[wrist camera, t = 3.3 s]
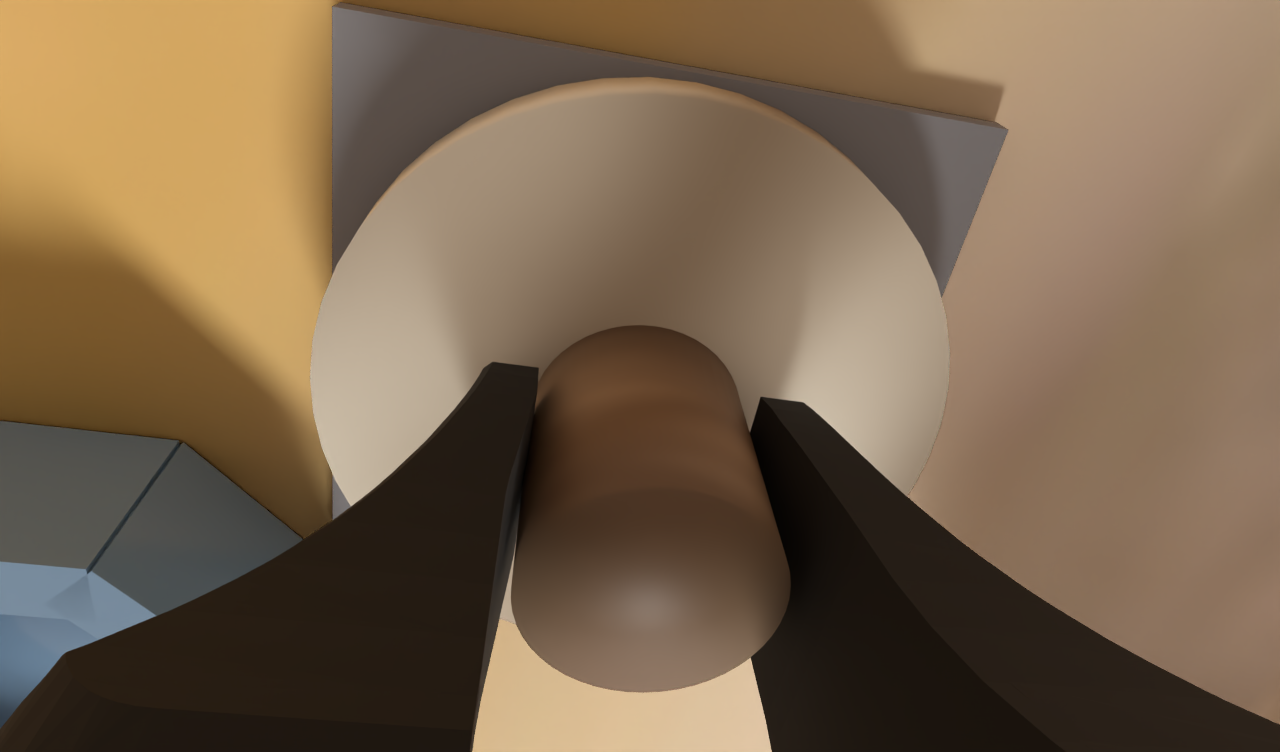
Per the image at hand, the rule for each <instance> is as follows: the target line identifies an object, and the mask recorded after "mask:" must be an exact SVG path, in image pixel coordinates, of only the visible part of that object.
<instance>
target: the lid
mask: <svg viewBox="0 0 1280 752" xmlns="http://www.w3.org/2000/svg"><path fill="white" fill-rule="evenodd" d="M491 362H499V363H507V364H515V365H522V366H530V367H538V368H539V374H538V388H537V396H536V403H535V410H534V417H533V424H532V432H531V439H530V446H529V453H528V460H527V465H526V470H525V475H524V480H523V486H522V493H521V502H520V511H519V520H518V529H517V537H516V544H515V551H514V557H513V561H512V566H511V570H510V574H509V579H508V583H507V587H506V592H505V596H504V601H503V605H502V609H501V614H500V618H499V619H502V620H505V621H508V622H510V623H513V624H516V625H517V627H518V629H519V631H520V633H521V635H522V637H523V638H524V639H525V641H526V642H527V644H528V645H529V646H530V648H531V649H532V650H533V651H534V652H535V653H536V654H537V655H538V656H539V657H540V658H541V659H543V660H544V661H545V662H546V663H548V664H549V665H550V666H552V667H553V668H555V669H556V670H558V671H560V672H561V673H563V674H565V675H567V676H569V677H571V678H574V679H576V680H578V681H581V682H584V683H587V684H590V685H593V686H596V687H601V688H605V689H610V690H617V691H625V692H661V691H668V690H675V689H681V688H685V687H689V686H693V685H697V684H700V683H703V682H706V681H709V680H711V679H714V678H716V677H718V676H720V675H723V674H725V673H727V672H728V671H730V670H732V669H734V668H736V667H737V666H739V665H740V664H742V663H743V662H745V661H746V660H747V659H749V658H750V657H752V656H753V655H754V654H755V653H756V652H757V651H758V650H759V649H761V648H762V647H763V646H764V644H765V643H766V642H767V641H768V640H769V639H770V638H771V636H772V635H773V634H774V632H775V631H776V629H777V628H778V626H779V625H780V623H781V621H782V618H783V616H784V614H785V612H786V609H787V605H788V602H789V598H790V589H791V580H790V570H789V566H788V562H787V558H786V555H785V552H784V548H783V545H782V541H781V538H780V534H779V531H778V528H777V524H776V521H775V517H774V514H773V511H772V507H771V504H770V500H769V497H768V493H767V490H766V487H765V483H764V480H763V476H762V473H761V470H760V466H759V463H758V459H757V456H756V452H755V449H754V446H753V442H752V439H751V435H750V431H751V427H752V424H753V421H754V417H755V414H756V411H757V407H758V404H759V400H760V397H767V398H775V399H783V400H790V401H798V402H804V403H805V404H806V405H808V406H809V407H810V408H811V409H813V410H814V411H815V412H816V413H817V414H818V415H820V416H821V417H822V418H823V419H824V420H825V421H826V422H827V423H828V424H829V425H831V426H832V427H833V428H834V429H835V430H836V431H837V432H838V433H839V434H840V435H841V436H842V437H843V438H844V439H845V440H846V441H848V442H849V443H850V444H851V445H852V446H853V447H854V448H855V449H856V450H857V451H858V452H859V453H860V454H861V455H862V456H863V457H864V458H865V459H866V460H868V461H869V462H870V463H871V464H872V465H873V466H874V467H875V468H876V469H877V470H878V471H879V472H880V473H881V474H883V475H884V476H885V477H886V478H887V479H888V480H889V481H890V482H891V483H892V484H893V485H895V486H896V487H897V488H898V489H899V490H900V491H901V492H902V493H903V494H905V495H906V496H908V494H909V493H910V491H911V490H912V488H913V487H914V485H915V483H916V481H917V479H918V477H919V476H920V474H921V472H922V470H923V468H924V466H925V464H926V462H927V460H928V458H929V456H930V454H931V451H932V448H933V445H934V442H935V440H936V437H937V434H938V431H939V429H940V426H941V423H942V418H943V413H944V408H945V403H946V398H947V393H948V386H949V367H950V347H949V337H948V327H947V318H946V314H945V310H944V306H943V303H942V299H941V295H940V291H939V288H938V284H937V281H936V278H935V276H934V274H933V272H932V269H931V267H930V265H929V263H928V260H927V258H926V256H925V254H924V251H923V249H922V247H921V245H920V244H919V242H918V241H917V239H916V238H915V236H914V235H913V233H912V231H911V230H910V228H909V227H908V225H907V224H906V222H905V221H904V219H903V218H902V216H901V215H900V213H899V212H898V211H897V210H896V208H895V207H894V206H893V205H892V204H891V203H890V202H889V201H888V200H887V199H886V197H885V196H884V195H883V194H882V193H881V192H880V191H879V190H878V189H877V188H876V186H875V185H874V184H873V183H872V182H871V181H870V180H869V179H868V178H867V177H866V176H865V175H864V173H863V172H862V171H861V170H860V169H859V168H858V167H857V166H856V165H855V164H854V163H853V162H852V161H851V160H850V159H849V158H848V157H847V156H846V155H845V154H843V153H842V152H841V151H840V150H838V149H837V148H836V147H835V146H834V145H832V144H831V143H830V142H829V141H827V140H826V139H825V138H824V137H823V136H821V135H820V134H819V133H818V132H816V131H814V130H813V129H811V128H809V127H808V126H806V125H804V124H803V123H801V122H799V121H798V120H796V119H794V118H792V117H791V116H789V115H787V114H786V113H784V112H782V111H781V110H778V109H776V108H773V107H771V106H769V105H766V104H764V103H761V102H759V101H757V100H754V99H752V98H749V97H747V96H744V95H742V94H740V93H736V92H732V91H728V90H724V89H720V88H716V87H712V86H708V85H705V84H701V83H697V82H689V81H680V80H672V79H663V78H654V77H631V78H601V79H595V80H589V81H583V82H576V83H570V84H564V85H558V86H554V87H551V88H548V89H544V90H541V91H538V92H535V93H531V94H528V95H525V96H522V97H518V98H515V99H512V100H510V101H508V102H506V103H504V104H502V105H499V106H497V107H495V108H493V109H491V110H489V111H486V112H484V113H482V114H480V115H478V116H476V117H474V118H472V119H470V120H469V121H467V122H465V123H464V124H462V125H461V126H459V127H458V128H456V129H455V130H453V131H452V132H450V133H449V134H447V135H446V136H444V137H442V138H441V139H439V140H438V141H436V142H435V143H434V144H433V145H431V146H430V147H429V148H428V149H427V150H426V151H425V152H423V153H422V154H421V155H420V156H419V157H418V158H417V159H416V160H414V161H413V162H412V163H411V164H410V165H409V166H408V167H406V168H405V169H404V170H403V171H402V172H401V173H400V175H399V176H398V177H397V178H396V179H395V181H394V182H393V183H392V184H391V185H390V187H389V188H388V189H387V190H386V191H385V192H384V194H383V195H382V196H381V197H380V198H379V200H378V201H377V202H376V203H375V205H374V206H373V208H372V209H371V211H370V212H369V214H368V215H367V217H366V219H365V220H364V222H363V223H362V225H361V226H360V228H359V229H358V231H357V232H356V234H355V236H354V237H353V239H352V241H351V242H350V244H349V246H348V247H347V249H346V250H345V252H344V254H343V255H342V257H341V259H340V260H339V262H338V264H337V265H336V268H335V270H334V273H333V275H332V278H331V280H330V282H329V285H328V287H327V290H326V292H325V295H324V297H323V300H322V302H321V306H320V310H319V315H318V319H317V323H316V327H315V332H314V336H313V341H312V355H311V370H310V383H311V394H312V405H313V415H314V419H315V423H316V427H317V431H318V435H319V439H320V443H321V447H322V450H323V452H324V454H325V457H326V459H327V462H328V464H329V466H330V469H331V471H332V474H333V476H334V478H335V481H336V482H337V484H338V486H339V488H340V489H341V491H342V493H343V494H344V496H345V498H346V499H347V501H348V503H349V504H350V506H352V505H354V504H355V503H356V502H358V501H359V500H360V499H361V498H363V497H364V496H365V495H366V494H368V493H369V492H370V491H371V490H373V489H374V488H375V487H376V486H377V485H379V484H380V483H381V482H382V481H383V480H384V479H386V478H387V477H388V476H389V475H390V474H391V473H392V472H393V471H395V470H396V469H397V468H398V467H399V466H400V465H401V464H402V463H403V462H404V461H405V460H406V459H407V458H408V457H409V456H410V455H411V454H412V453H413V452H415V451H416V450H417V449H418V448H419V447H420V446H421V445H422V444H423V443H424V442H425V441H426V440H427V439H428V438H429V437H430V436H431V435H432V433H433V432H434V431H435V430H436V429H437V428H438V427H439V426H440V424H441V423H442V422H443V421H444V420H445V419H446V418H447V417H448V416H449V414H450V413H451V412H452V411H453V410H454V409H455V408H456V406H457V405H458V404H459V403H460V401H461V400H462V399H463V398H464V396H465V395H466V394H467V392H468V391H469V390H470V388H471V387H472V386H473V384H474V383H475V381H476V380H477V378H478V377H479V375H480V373H481V371H482V369H483V368H484V367H485V366H487V365H488V364H490V363H491Z"/></svg>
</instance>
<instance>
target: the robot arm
mask: <svg viewBox="0 0 1280 752" xmlns="http://www.w3.org/2000/svg"><path fill="white" fill-rule="evenodd" d="M538 374H539V368H538V367H530V366H522V365H515V364H507V363H499V362H491V363H490V364H488V365H487V366H485V367H484V368H483V369H482V371H481V373H480V375H479V377H478V378H477V380H476V381H475V383H474V384H473V386H472V387H471V388H470V390H469V391H468V392H467V394H466V395H465V396H464V398H463V399H462V400H461V401H460V403H459V404H458V405H457V406H456V408H455V409H454V410H453V411H452V412H451V413H450V414H449V416H448V417H447V418H446V419H445V420H444V421H443V422H442V423H441V424H440V426H439V427H438V428H437V429H436V430H435V431H434V432H433V433H432V435H431V436H430V437H429V438H428V439H427V440H426V441H425V442H424V443H423V444H422V445H421V446H420V447H419V448H418V449H417V450H416V451H415V452H413V453H412V454H411V455H410V456H409V457H408V458H407V459H406V460H405V461H404V462H403V463H402V464H401V465H400V466H399V467H398V468H397V469H396V470H395V471H393V472H392V473H391V474H390V475H389V476H388V477H387V478H386V479H384V480H383V481H382V482H381V483H380V484H379V485H377V486H376V487H375V488H374V489H373V490H371V491H370V492H369V493H368V494H366V495H365V496H364V497H363V498H361V499H360V500H359V501H358V502H356V503H355V504H354V505H352V506H351V507H350V508H348V509H347V510H346V511H344V512H343V513H342V514H340V515H339V516H338V517H336V518H335V519H333V520H332V521H330V522H329V523H327V524H326V525H324V526H323V527H321V528H320V529H319V530H317V531H316V532H314V533H313V534H311V535H310V536H308V537H307V538H305V539H304V540H302V541H301V542H299V543H298V544H296V545H295V546H293V547H291V548H290V549H288V550H286V551H285V552H283V553H282V554H280V555H278V556H277V557H275V558H273V559H272V560H270V561H268V562H266V563H264V564H263V565H261V566H259V567H257V568H255V569H253V570H251V571H250V572H248V573H246V574H244V575H242V576H240V577H238V578H237V579H235V580H233V581H230V582H228V583H226V584H224V585H222V586H220V587H218V588H216V589H214V590H212V591H210V592H208V593H206V594H204V595H202V596H200V597H198V598H196V599H194V600H192V601H189V602H187V603H185V604H183V605H181V606H178V607H176V608H174V609H172V610H170V611H167V612H165V613H162V614H160V615H157V616H155V617H153V618H150V619H148V620H145V621H143V622H140V623H138V624H136V625H133V626H131V627H128V628H126V629H123V630H121V631H119V632H116V633H114V634H111V635H109V636H106V637H104V638H102V639H99V640H97V641H94V642H92V643H89V644H87V645H84V646H81V647H79V648H76V649H73V650H71V651H68V652H66V653H64V654H63V655H62V656H61V657H60V659H59V660H58V661H57V662H56V664H55V665H54V666H53V667H52V668H51V670H50V671H49V672H48V673H47V674H46V676H45V677H44V678H43V679H42V680H41V682H40V683H39V684H38V685H37V686H36V687H35V688H34V689H33V690H32V691H31V692H30V693H29V695H28V696H27V697H26V698H25V699H24V700H23V701H22V702H21V704H20V705H19V706H18V707H17V709H16V710H15V711H14V712H13V714H12V715H11V716H10V717H9V719H8V720H7V721H6V722H5V724H4V725H3V726H2V727H1V728H0V752H472V749H473V742H474V734H475V728H476V723H477V718H478V712H479V707H480V701H481V696H482V692H483V688H484V683H485V679H486V675H487V670H488V666H489V662H490V657H491V653H492V649H493V644H494V640H495V635H496V631H497V627H498V622H499V618H500V614H501V609H502V605H503V601H504V596H505V592H506V587H507V583H508V579H509V574H510V570H511V566H512V561H513V557H514V551H515V544H516V537H517V529H518V520H519V511H520V502H521V493H522V486H523V480H524V475H525V470H526V465H527V460H528V453H529V446H530V439H531V432H532V424H533V417H534V410H535V403H536V396H537V388H538ZM750 435H751V439H752V442H753V446H754V449H755V452H756V456H757V459H758V463H759V466H760V470H761V473H762V476H763V480H764V483H765V487H766V490H767V493H768V497H769V500H770V504H771V507H772V511H773V514H774V517H775V521H776V524H777V528H778V531H779V534H780V538H781V541H782V545H783V548H784V552H785V555H786V558H787V562H788V566H789V570H790V580H791V589H790V598H789V602H788V605H787V609H786V612H785V614H784V616H783V618H782V621H781V623H780V625H779V626H778V628H777V629H776V631H775V632H774V634H773V635H772V636H771V638H770V639H769V640H768V641H767V642H766V643H765V644H764V646H763V647H762V648H761V649H759V650H758V651H757V652H756V653H755V654H754V655H753V656H752V657H751V660H752V665H753V669H754V673H755V677H756V681H757V685H758V690H759V694H760V698H761V702H762V706H763V710H764V714H765V719H766V723H767V729H768V734H769V739H770V744H771V749H772V752H1280V725H1279V724H1276V723H1274V722H1272V721H1270V720H1268V719H1265V718H1263V717H1261V716H1259V715H1256V714H1254V713H1252V712H1250V711H1247V710H1245V709H1243V708H1241V707H1238V706H1236V705H1234V704H1232V703H1229V702H1227V701H1225V700H1223V699H1221V698H1219V697H1217V696H1215V695H1212V694H1210V693H1208V692H1206V691H1204V690H1202V689H1201V688H1199V687H1197V686H1195V685H1193V684H1191V683H1189V682H1187V681H1185V680H1183V679H1181V678H1179V677H1177V676H1175V675H1173V674H1171V673H1169V672H1167V671H1165V670H1163V669H1161V668H1159V667H1158V666H1156V665H1154V664H1152V663H1150V662H1148V661H1146V660H1144V659H1142V658H1141V657H1139V656H1137V655H1135V654H1133V653H1132V652H1130V651H1128V650H1126V649H1124V648H1122V647H1121V646H1119V645H1117V644H1115V643H1113V642H1112V641H1110V640H1108V639H1106V638H1105V637H1103V636H1101V635H1100V634H1098V633H1096V632H1095V631H1093V630H1091V629H1090V628H1088V627H1086V626H1085V625H1083V624H1081V623H1080V622H1078V621H1076V620H1075V619H1073V618H1071V617H1070V616H1068V615H1067V614H1065V613H1063V612H1062V611H1060V610H1058V609H1057V608H1055V607H1053V606H1052V605H1050V604H1049V603H1047V602H1046V601H1044V600H1043V599H1041V598H1039V597H1038V596H1036V595H1035V594H1033V593H1032V592H1030V591H1029V590H1027V589H1026V588H1024V587H1023V586H1021V585H1020V584H1019V583H1017V582H1016V581H1014V580H1013V579H1011V578H1010V577H1009V576H1007V575H1006V574H1004V573H1003V572H1002V571H1000V570H999V569H997V568H996V567H995V566H993V565H992V564H990V563H989V562H987V561H986V560H985V559H983V558H982V557H980V556H979V555H978V554H976V553H975V552H974V551H973V550H971V549H970V548H969V547H967V546H966V545H965V544H963V543H962V542H961V541H959V540H958V539H957V538H956V537H954V536H953V535H952V534H951V533H950V532H948V531H947V530H946V529H945V528H944V527H942V526H941V525H940V524H939V523H937V522H936V521H935V520H934V519H933V518H931V517H930V516H929V515H928V514H927V513H925V512H924V511H923V510H922V509H921V508H919V507H918V506H917V505H916V504H915V503H914V502H913V501H911V500H910V499H909V498H908V497H907V496H906V495H905V494H903V493H902V492H901V491H900V490H899V489H898V488H897V487H896V486H895V485H893V484H892V483H891V482H890V481H889V480H888V479H887V478H886V477H885V476H884V475H883V474H881V473H880V472H879V471H878V470H877V469H876V468H875V467H874V466H873V465H872V464H871V463H870V462H869V461H868V460H866V459H865V458H864V457H863V456H862V455H861V454H860V453H859V452H858V451H857V450H856V449H855V448H854V447H853V446H852V445H851V444H850V443H849V442H848V441H846V440H845V439H844V438H843V437H842V436H841V435H840V434H839V433H838V432H837V431H836V430H835V429H834V428H833V427H832V426H831V425H829V424H828V423H827V422H826V421H825V420H824V419H823V418H822V417H821V416H820V415H818V414H817V413H816V412H815V411H814V410H813V409H811V408H810V407H809V406H808V405H806V404H805V403H804V402H798V401H790V400H783V399H775V398H767V397H760V400H759V404H758V407H757V411H756V414H755V417H754V421H753V424H752V427H751V431H750Z"/></svg>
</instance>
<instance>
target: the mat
mask: <svg viewBox="0 0 1280 752" xmlns="http://www.w3.org/2000/svg"><path fill="white" fill-rule="evenodd" d="M631 77H654V78H663V79H672V80H680V81H689V82H697V83H701V84H705V85H708V86H712V87H716V88H720V89H724V90H728V91H732V92H736V93H740V94H742V95H744V96H747V97H749V98H752V99H754V100H757V101H759V102H761V103H764V104H766V105H769V106H771V107H773V108H776V109H778V110H781V111H782V112H784V113H786V114H787V115H789V116H791V117H792V118H794V119H796V120H798V121H799V122H801V123H803V124H804V125H806V126H808V127H809V128H811V129H813V130H814V131H816V132H818V133H819V134H820V135H821V136H823V137H824V138H825V139H826V140H827V141H829V142H830V143H831V144H832V145H834V146H835V147H836V148H837V149H838V150H840V151H841V152H842V153H843V154H845V155H846V156H847V157H848V158H849V159H850V160H851V161H852V162H853V163H854V164H855V165H856V166H857V167H858V168H859V169H860V170H861V171H862V172H863V173H864V175H865V176H866V177H867V178H868V179H869V180H870V181H871V182H872V183H873V184H874V185H875V186H876V188H877V189H878V190H879V191H880V192H881V193H882V194H883V195H884V196H885V197H886V199H887V200H888V201H889V202H890V203H891V204H892V205H893V206H894V207H895V208H896V210H897V211H898V212H899V213H900V215H901V216H902V218H903V219H904V221H905V222H906V224H907V225H908V227H909V228H910V230H911V231H912V233H913V235H914V236H915V238H916V239H917V241H918V242H919V244H920V245H921V247H922V249H923V251H924V254H925V256H926V258H927V260H928V263H929V265H930V267H931V269H932V272H933V274H934V276H935V278H936V281H937V284H938V288H939V291H940V295H941V298H942V295H943V293H944V290H945V288H946V285H947V283H948V280H949V278H950V275H951V273H952V270H953V268H954V265H955V263H956V260H957V258H958V255H959V253H960V250H961V248H962V245H963V243H964V240H965V238H966V235H967V233H968V230H969V228H970V225H971V223H972V220H973V218H974V215H975V213H976V210H977V208H978V205H979V202H980V200H981V197H982V195H983V192H984V190H985V187H986V185H987V182H988V180H989V177H990V175H991V172H992V170H993V167H994V165H995V162H996V160H997V157H998V155H999V152H1000V150H1001V147H1002V145H1003V142H1004V140H1005V137H1006V135H1007V132H1008V129H1006V128H1005V127H1003V126H1001V125H999V124H998V123H996V122H990V121H985V120H980V119H974V118H969V117H963V116H958V115H952V114H947V113H941V112H936V111H930V110H925V109H920V108H914V107H909V106H903V105H898V104H892V103H887V102H881V101H876V100H871V99H865V98H860V97H854V96H849V95H843V94H838V93H832V92H827V91H821V90H816V89H811V88H805V87H800V86H794V85H789V84H783V83H778V82H772V81H767V80H761V79H756V78H751V77H745V76H740V75H734V74H729V73H723V72H718V71H712V70H707V69H702V68H696V67H691V66H685V65H680V64H674V63H669V62H663V61H658V60H652V59H647V58H642V57H636V56H631V55H625V54H620V53H614V52H609V51H603V50H598V49H592V48H587V47H582V46H576V45H571V44H565V43H560V42H554V41H549V40H543V39H538V38H533V37H527V36H522V35H516V34H511V33H505V32H500V31H494V30H489V29H483V28H478V27H473V26H467V25H462V24H456V23H451V22H445V21H440V20H434V19H429V18H423V17H418V16H413V15H407V14H402V13H396V12H391V11H385V10H380V9H374V8H369V7H364V6H358V5H353V4H347V3H342V2H340V3H338V4H336V5H334V6H332V275H333V273H334V270H335V268H336V265H337V264H338V262H339V260H340V259H341V257H342V255H343V254H344V252H345V250H346V249H347V247H348V246H349V244H350V242H351V241H352V239H353V237H354V236H355V234H356V232H357V231H358V229H359V228H360V226H361V225H362V223H363V222H364V220H365V219H366V217H367V215H368V214H369V212H370V211H371V209H372V208H373V206H374V205H375V203H376V202H377V201H378V200H379V198H380V197H381V196H382V195H383V194H384V192H385V191H386V190H387V189H388V188H389V187H390V185H391V184H392V183H393V182H394V181H395V179H396V178H397V177H398V176H399V175H400V173H401V172H402V171H403V170H404V169H405V168H406V167H408V166H409V165H410V164H411V163H412V162H413V161H414V160H416V159H417V158H418V157H419V156H420V155H421V154H422V153H423V152H425V151H426V150H427V149H428V148H429V147H430V146H431V145H433V144H434V143H435V142H436V141H438V140H439V139H441V138H442V137H444V136H446V135H447V134H449V133H450V132H452V131H453V130H455V129H456V128H458V127H459V126H461V125H462V124H464V123H465V122H467V121H469V120H470V119H472V118H474V117H476V116H478V115H480V114H482V113H484V112H486V111H489V110H491V109H493V108H495V107H497V106H499V105H502V104H504V103H506V102H508V101H510V100H512V99H515V98H518V97H522V96H525V95H528V94H531V93H535V92H538V91H541V90H544V89H548V88H551V87H554V86H558V85H564V84H570V83H576V82H583V81H589V80H595V79H601V78H631ZM350 507H351V506H350V504H349V503H348V501H347V499H346V498H345V496H344V494H343V493H342V491H341V489H340V488H339V486H338V484H337V482H336V481H335V478H334V476H333V519H335V518H336V517H338V516H339V515H340V514H342V513H343V512H344V511H346V510H347V509H348V508H350Z"/></svg>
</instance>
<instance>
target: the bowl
mask: <svg viewBox="0 0 1280 752" xmlns="http://www.w3.org/2000/svg"><path fill="white" fill-rule="evenodd" d="M302 540H303V539H302V538H301V537H300V536H298V535H297V534H296V533H295V532H293V531H292V530H291V529H290V528H289V527H287V526H286V525H285V524H284V523H282V522H281V521H280V520H279V519H277V518H276V517H275V516H274V515H273V514H271V513H270V512H269V511H268V510H266V509H265V508H264V507H263V506H261V505H260V504H259V503H258V502H256V501H255V500H254V499H253V498H252V497H250V496H249V495H248V494H247V493H245V492H244V491H243V490H242V489H240V488H239V487H238V486H237V485H235V484H234V483H233V482H232V481H231V480H229V479H228V478H227V477H226V476H224V475H223V474H222V473H221V472H219V471H218V470H217V469H216V468H215V467H213V466H212V465H211V464H210V463H208V462H207V461H206V460H205V459H203V458H202V457H201V456H200V455H198V454H197V453H196V452H195V451H194V450H192V449H191V448H190V447H189V446H187V445H186V444H185V443H184V442H183V443H182V444H179V440H170V439H161V438H151V437H142V436H133V435H124V434H115V433H106V432H97V431H88V430H79V429H70V428H61V427H52V426H43V425H34V424H25V423H16V422H7V421H0V728H1V727H2V726H3V725H4V724H5V722H6V721H7V720H8V719H9V717H10V716H11V715H12V714H13V712H14V711H15V710H16V709H17V707H18V706H19V705H20V704H21V702H22V701H23V700H24V699H25V698H26V697H27V696H28V695H29V693H30V692H31V691H32V690H33V689H34V688H35V687H36V686H37V685H38V684H39V683H40V682H41V680H42V679H43V678H44V677H45V676H46V674H47V673H48V672H49V671H50V670H51V668H52V667H53V666H54V665H55V664H56V662H57V661H58V660H59V659H60V657H61V656H62V655H63V654H64V653H66V652H68V651H71V650H73V649H76V648H79V647H81V646H84V645H87V644H89V643H92V642H94V641H97V640H99V639H102V638H104V637H106V636H109V635H111V634H114V633H116V632H119V631H121V630H123V629H126V628H128V627H131V626H133V625H136V624H138V623H140V622H143V621H145V620H148V619H150V618H153V617H155V616H157V615H160V614H162V613H165V612H167V611H170V610H172V609H174V608H176V607H178V606H181V605H183V604H185V603H187V602H189V601H192V600H194V599H196V598H198V597H200V596H202V595H204V594H206V593H208V592H210V591H212V590H214V589H216V588H218V587H220V586H222V585H224V584H226V583H228V582H230V581H233V580H235V579H237V578H238V577H240V576H242V575H244V574H246V573H248V572H250V571H251V570H253V569H255V568H257V567H259V566H261V565H263V564H264V563H266V562H268V561H270V560H272V559H273V558H275V557H277V556H278V555H280V554H282V553H283V552H285V551H286V550H288V549H290V548H291V547H293V546H295V545H296V544H298V543H299V542H301V541H302Z"/></svg>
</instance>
